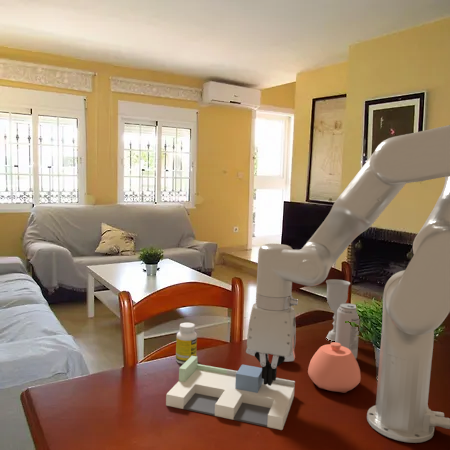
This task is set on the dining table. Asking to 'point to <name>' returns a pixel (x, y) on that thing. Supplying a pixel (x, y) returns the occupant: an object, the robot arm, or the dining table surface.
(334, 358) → the sugar bowl
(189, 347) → the supplement bottle
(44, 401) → the dining table surface
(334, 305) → the chalice
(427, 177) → the robot arm
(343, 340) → the energy drink can
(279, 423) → the box
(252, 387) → the block
